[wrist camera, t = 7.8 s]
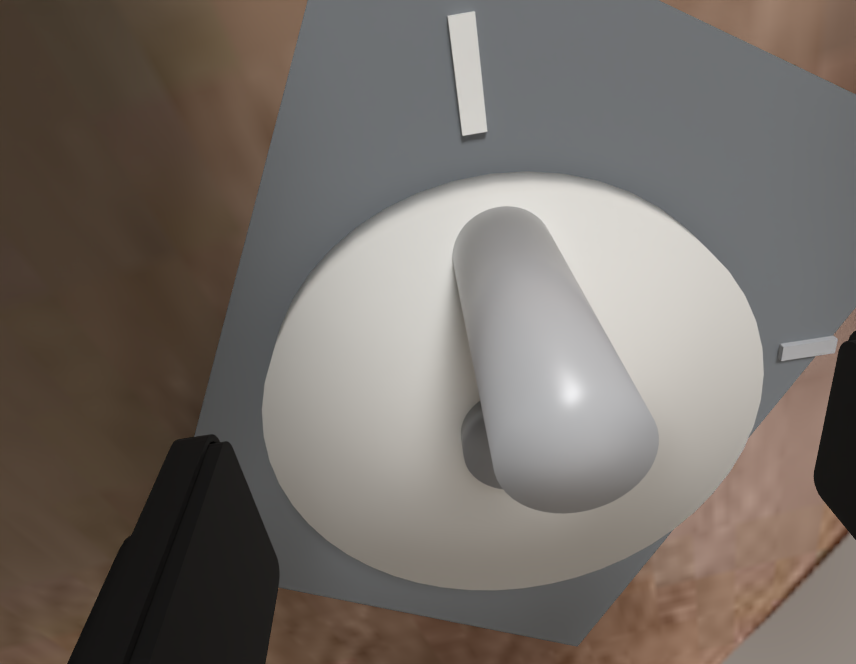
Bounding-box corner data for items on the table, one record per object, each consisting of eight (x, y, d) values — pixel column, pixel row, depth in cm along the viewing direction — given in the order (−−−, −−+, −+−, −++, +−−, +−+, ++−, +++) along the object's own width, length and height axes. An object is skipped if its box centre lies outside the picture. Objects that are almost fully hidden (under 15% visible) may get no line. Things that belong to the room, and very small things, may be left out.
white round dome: (709, 529, 23) (858, 801, 16) (323, 575, 23) (293, 864, 16) (774, 136, 16) (1112, 302, 8) (210, 210, 16) (55, 434, 9)
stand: (574, 615, 28) (584, 652, 27) (173, 531, 24) (159, 568, 23) (945, 143, 18) (996, 160, 16) (350, -140, 14) (346, -150, 12)
